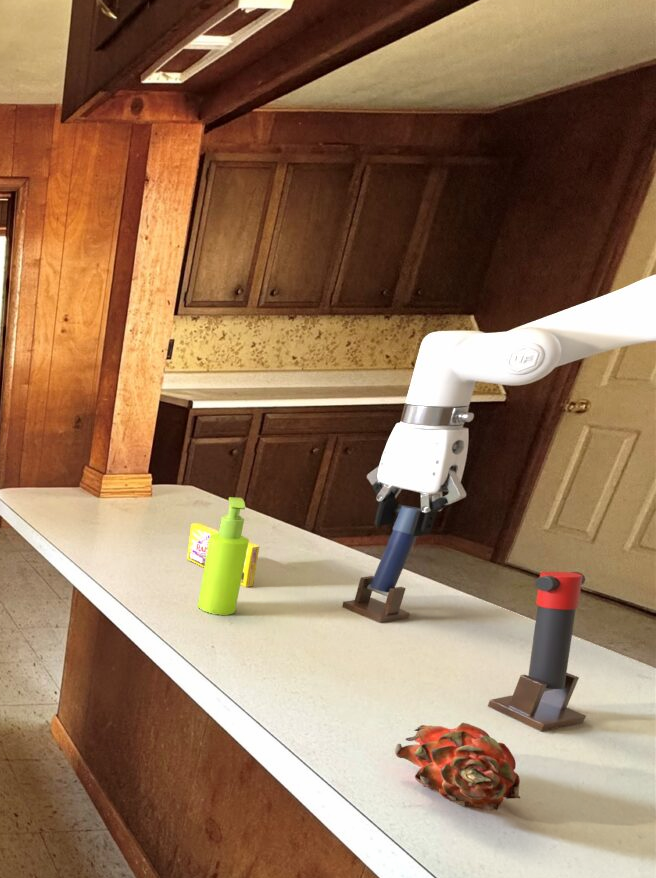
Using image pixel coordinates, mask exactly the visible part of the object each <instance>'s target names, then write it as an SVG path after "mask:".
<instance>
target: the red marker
mask: <svg viewBox="0 0 656 878" xmlns="http://www.w3.org/2000/svg"><path fill="white" fill-rule="evenodd" d="M584 583H586V577H585V575H584V574H583V573H582V572H579V571H556V570H555V571H541V572H540V574H539V577H538V578H536V580H535V583H534V584H535V587H536V589H537V595H536V603H535V604H536V605H535V606H537V607H536V614H535V615H536V616H535V622H534V623H535V624H534V630H533V637H532V646H531V654H530V661H529V668H528V675H527V676H530V677H532V678H535V679H537V680H539V681H542V682H544V683H547V686H546V688H545V691H549V690H554V689H562V688H564V687H565V680H566V673H568V665H569V659H570V652H571V646H572V645H571V644H572V639H573V638H572V637H573V631H574V626H575V625H574V624H575V617H576V611H577V609H578V608H579V604H580V603H579V602H580V596H581V590H582V585H584Z"/></svg>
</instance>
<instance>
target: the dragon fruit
mask: <svg viewBox="0 0 656 878" xmlns="http://www.w3.org/2000/svg"><path fill="white" fill-rule="evenodd" d="M410 729H411V728H410ZM410 729H408V731H410ZM413 731H414V732H416V733H415V735H414V736H411V737H406V738H405V741H407V742H413V741H414V742H416V743H418V744H408V745H404V746H402V744H401V743H397V744H396V746H395V749H394V754H395V756H396V757H397V758H399V759H405V760H407V761H409V763H412V764H414V765H416V766H417V767H420V768H419V770H418V771H417V773H415V775H414V779H415V780H416V781H417V782H418V783H419V784H420V785H421V786H422V787H424V788H428V789H430V790H431V789H435V790H438V792H439V794H440V796H441V797H443V798H444V799H446V800H449V802H451V803H454V804H457V805H460V806H462V807H468V806H471V805H473V806H474V807H476V808H477V809H479V810H481V811H498V810H499V808H500V806H501V805H502V803H503V802H504V798H506V800H512V799H517V800H518V799H521V796H520V792H519V791H520V781H521V780H520V775H519V774H518V773H517V772H515V769H516V759H515V757H514V755H513V753H512V751H511V750H510V748H508V747H507V745H506V744H505V743H503V742H498V741H497V740H496V739H495V738H493V737H491V735H489V734H488V733H487V731H486V730H484V729H482V728H480V727H477V726H475V725H472V724H470V723H466V722H461V723H460V724H459V725H458V726H457V727H455V728H448V727H445V726H442V725H441V726H440V725H439V726H438V725H437V726H436V725H426V724H421V725H419V726H418V727H417V728H414V729H413Z"/></svg>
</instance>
